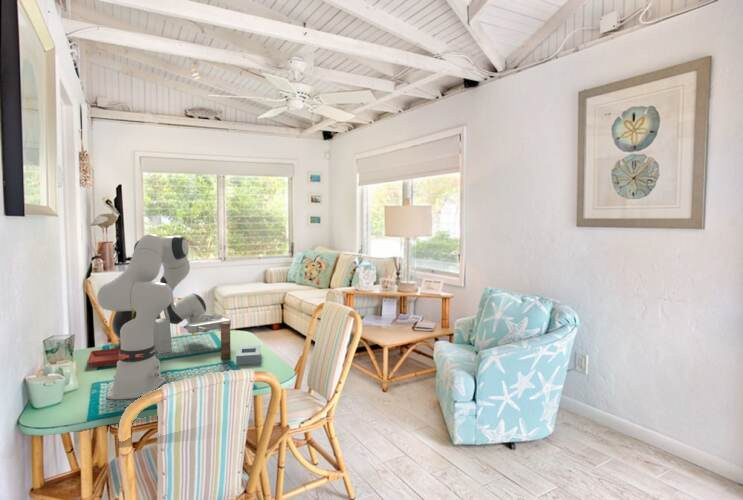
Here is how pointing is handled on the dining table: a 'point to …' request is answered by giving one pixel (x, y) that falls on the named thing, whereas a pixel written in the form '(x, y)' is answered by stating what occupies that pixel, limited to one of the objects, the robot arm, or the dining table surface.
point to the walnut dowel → (225, 341)
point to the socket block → (248, 355)
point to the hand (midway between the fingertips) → (215, 328)
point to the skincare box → (162, 336)
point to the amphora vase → (123, 321)
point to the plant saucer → (103, 357)
